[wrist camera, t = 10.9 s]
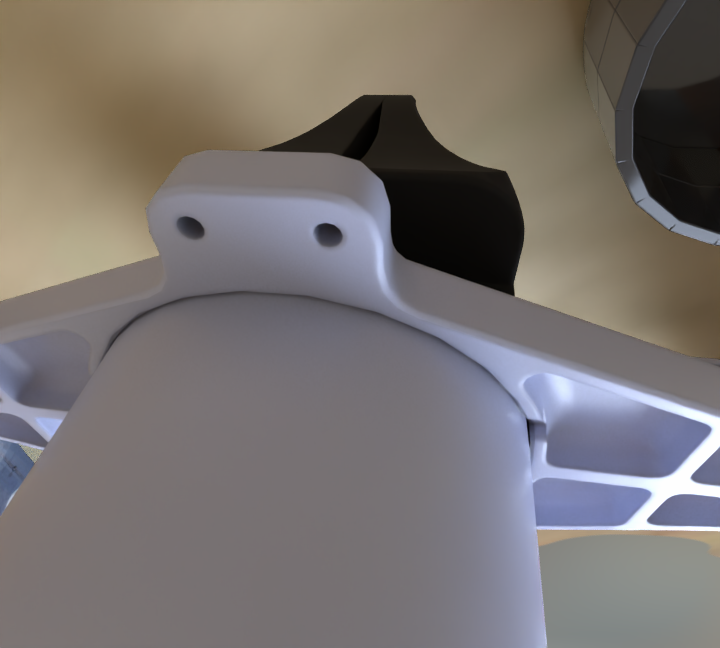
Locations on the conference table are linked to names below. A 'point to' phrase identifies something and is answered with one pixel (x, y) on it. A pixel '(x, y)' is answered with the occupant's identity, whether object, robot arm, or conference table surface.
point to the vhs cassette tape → (12, 471)
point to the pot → (661, 105)
